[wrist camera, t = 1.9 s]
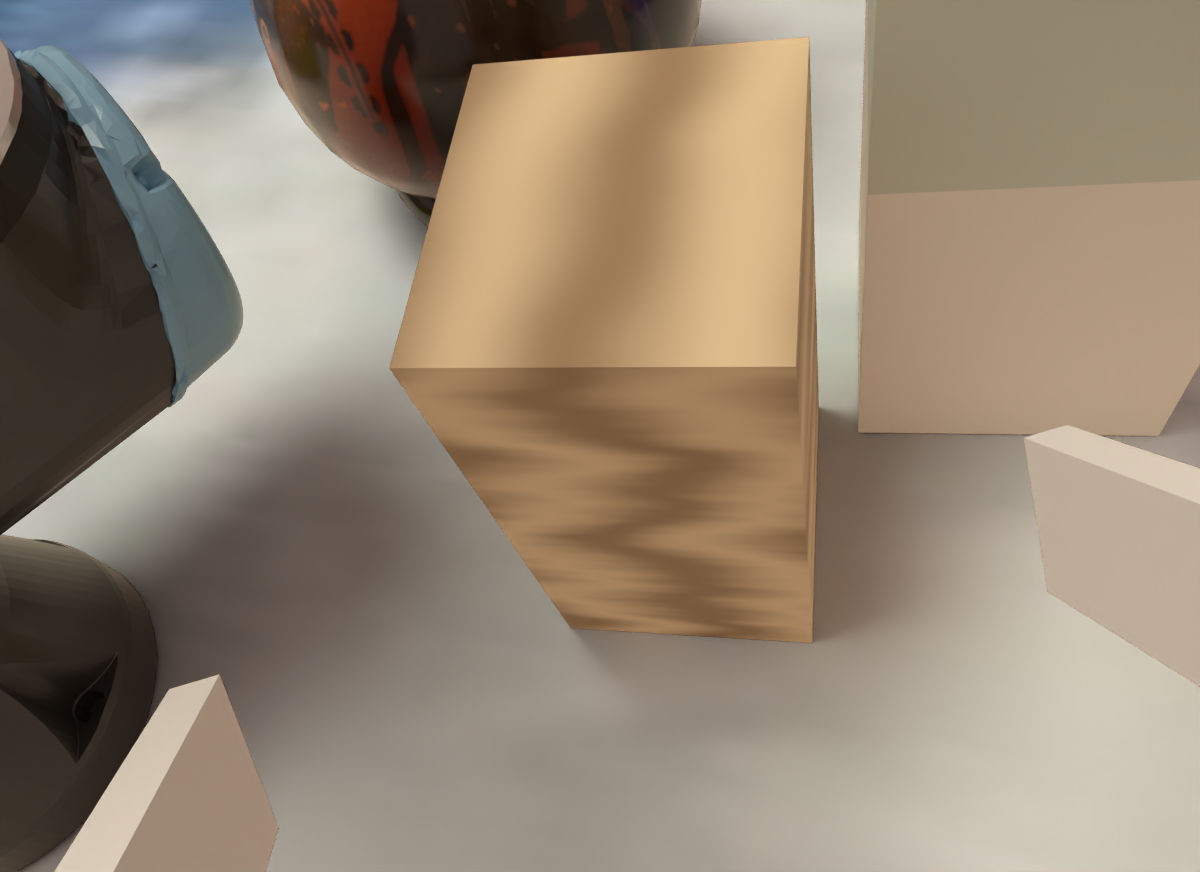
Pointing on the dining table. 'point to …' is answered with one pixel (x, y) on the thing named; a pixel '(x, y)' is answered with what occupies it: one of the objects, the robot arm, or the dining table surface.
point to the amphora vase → (432, 66)
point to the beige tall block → (1028, 215)
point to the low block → (633, 331)
